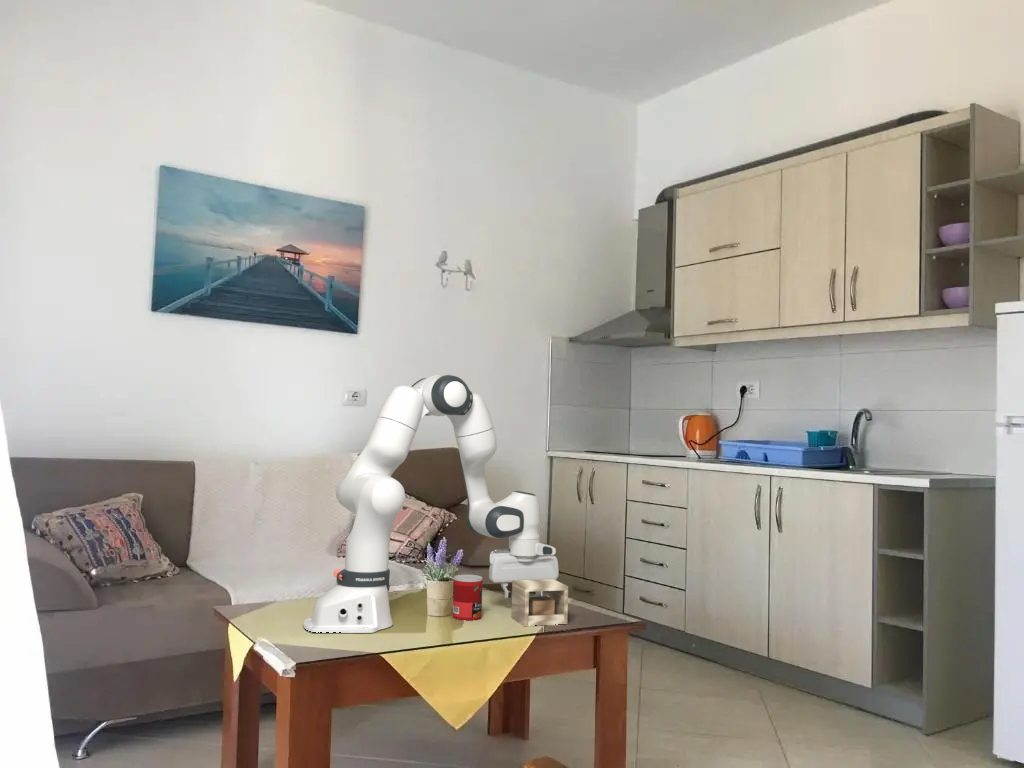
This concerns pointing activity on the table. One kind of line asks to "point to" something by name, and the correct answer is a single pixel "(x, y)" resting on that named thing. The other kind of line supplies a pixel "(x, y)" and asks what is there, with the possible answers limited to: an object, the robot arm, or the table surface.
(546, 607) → the partly hidden dark block
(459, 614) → the canned food
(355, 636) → the table surface
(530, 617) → the oak cubby
